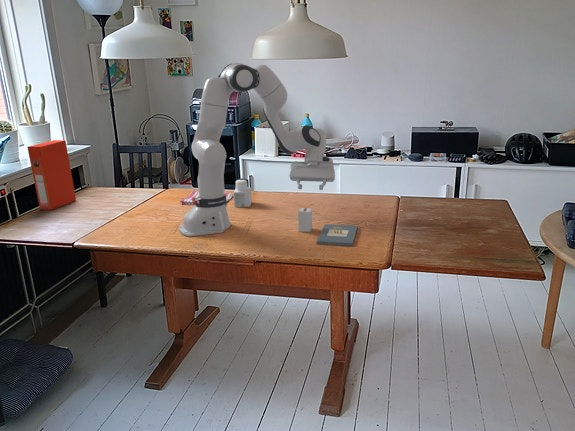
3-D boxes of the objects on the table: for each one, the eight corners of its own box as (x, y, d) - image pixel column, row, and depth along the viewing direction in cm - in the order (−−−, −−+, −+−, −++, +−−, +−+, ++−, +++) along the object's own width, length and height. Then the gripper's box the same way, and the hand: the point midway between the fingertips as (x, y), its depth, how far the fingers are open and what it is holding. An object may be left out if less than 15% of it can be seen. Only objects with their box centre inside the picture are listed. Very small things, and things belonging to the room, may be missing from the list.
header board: (324, 226, 219) (324, 218, 218) (357, 228, 216) (357, 220, 214) (316, 243, 200) (316, 235, 199) (352, 246, 197) (352, 237, 196)
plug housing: (300, 227, 218) (300, 207, 215) (312, 228, 217) (311, 208, 214) (298, 231, 214) (298, 211, 211) (310, 232, 213) (309, 211, 210)
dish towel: (192, 195, 272) (191, 189, 271) (234, 197, 268) (233, 190, 267) (179, 205, 256) (179, 198, 255) (223, 207, 252) (223, 200, 251)
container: (236, 202, 257) (234, 177, 252) (251, 202, 256) (250, 177, 252) (234, 207, 249) (232, 181, 245) (250, 206, 249) (248, 181, 245)
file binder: (39, 209, 256) (27, 146, 246) (63, 199, 272) (53, 140, 261) (52, 210, 254) (40, 147, 243) (76, 200, 269) (65, 140, 259)
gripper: (290, 157, 228) (285, 184, 222) (335, 158, 223) (332, 186, 217) (292, 165, 233) (288, 191, 227) (336, 166, 229) (333, 193, 223)
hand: (310, 188), depth 222 cm, fingers open, 8 cm apart
